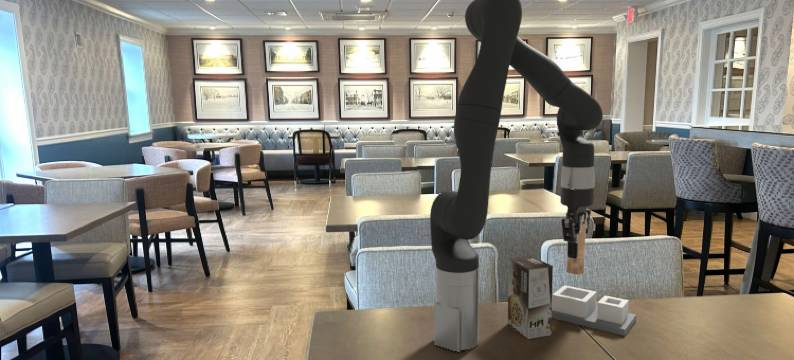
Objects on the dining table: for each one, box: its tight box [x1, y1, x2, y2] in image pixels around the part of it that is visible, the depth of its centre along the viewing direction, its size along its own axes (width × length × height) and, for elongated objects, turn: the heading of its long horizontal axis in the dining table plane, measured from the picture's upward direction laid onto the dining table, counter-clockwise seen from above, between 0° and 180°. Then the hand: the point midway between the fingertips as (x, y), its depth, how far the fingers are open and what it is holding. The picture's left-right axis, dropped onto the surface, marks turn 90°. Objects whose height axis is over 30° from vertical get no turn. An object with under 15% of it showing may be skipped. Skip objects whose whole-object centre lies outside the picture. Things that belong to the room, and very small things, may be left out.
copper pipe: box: [566, 223, 586, 275], centre depth 121 cm, size 4×4×12 cm
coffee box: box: [507, 255, 554, 340], centre depth 115 cm, size 9×6×16 cm
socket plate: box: [552, 284, 637, 337], centre depth 120 cm, size 10×17×6 cm, turn 52°
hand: (575, 254), depth 121 cm, fingers closed on copper pipe, 4 cm apart
